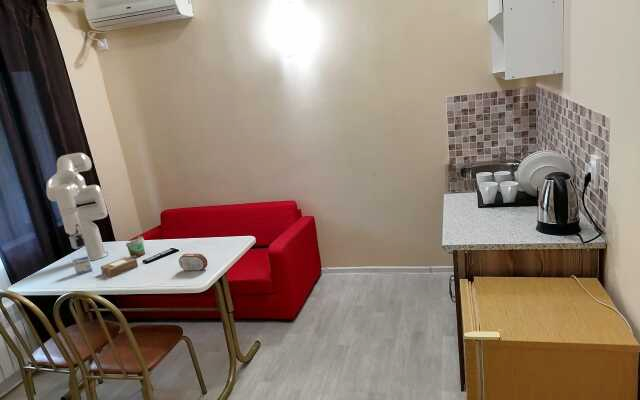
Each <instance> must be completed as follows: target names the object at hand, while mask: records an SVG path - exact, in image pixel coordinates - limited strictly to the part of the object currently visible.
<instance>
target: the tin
mask: <svg viewBox="0 0 640 400" xmlns="http://www.w3.org/2000/svg"><path fill="white" fill-rule="evenodd" d="M178 264H179V266H180V268H181V269H182V270H184V271H186V272H195V271H196V272H200V271H203V270H205V269H206V268H207V267H208V264H209V263H208V259H207V258H206V257H205V255H203V254H201V253H183V254H182V256H180V257H179V258H178Z"/></svg>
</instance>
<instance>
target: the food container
mask: <svg viewBox="0 0 640 400" xmlns="http://www.w3.org/2000/svg"><path fill="white" fill-rule="evenodd" d="M144 241H145V239H144V237H143V236H142V235H138V236H137V238H136V239H132V240H131V241H129V242H126V243H125V246H126V247H127V249H128V252H129V253H128V254H129V255H130V258H132V259H137V258H142V257H143V256H145V255H146V252H145V246H144ZM141 256H142V257H141Z"/></svg>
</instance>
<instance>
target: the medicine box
mask: <svg viewBox="0 0 640 400" xmlns="http://www.w3.org/2000/svg"><path fill="white" fill-rule="evenodd" d="M72 264H73V268H74V270H75V274H76V276H79V275H83V274H87V273H91V272H93V266H92V263H91V261H90V259H89V255H87V254H86V255H81V256H77V257H74V258H72Z"/></svg>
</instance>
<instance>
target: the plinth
mask: <svg viewBox="0 0 640 400" xmlns="http://www.w3.org/2000/svg"><path fill="white" fill-rule="evenodd" d="M138 267H139V264H138V261H137V258H135V259H132V258H131V257H127V256H125V257H122V258H120V259H117V260H114V261H111V262H110V263H107V264H104V265H102V266H100V271H101V273H102V275H106V276H107V277H112V278H114V277H117V276H119V275H121V274H123V273H127V272H130V271H131V270H134V269H136V268H138Z"/></svg>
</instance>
